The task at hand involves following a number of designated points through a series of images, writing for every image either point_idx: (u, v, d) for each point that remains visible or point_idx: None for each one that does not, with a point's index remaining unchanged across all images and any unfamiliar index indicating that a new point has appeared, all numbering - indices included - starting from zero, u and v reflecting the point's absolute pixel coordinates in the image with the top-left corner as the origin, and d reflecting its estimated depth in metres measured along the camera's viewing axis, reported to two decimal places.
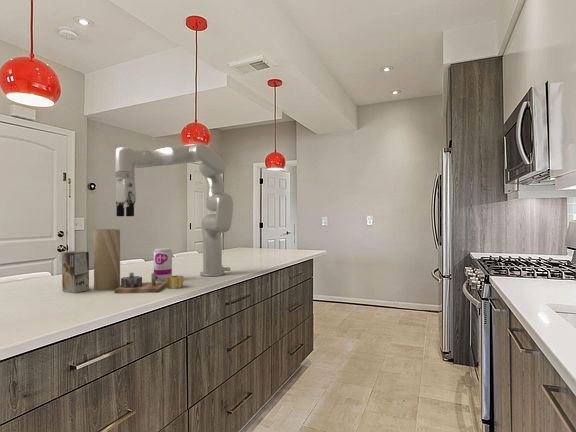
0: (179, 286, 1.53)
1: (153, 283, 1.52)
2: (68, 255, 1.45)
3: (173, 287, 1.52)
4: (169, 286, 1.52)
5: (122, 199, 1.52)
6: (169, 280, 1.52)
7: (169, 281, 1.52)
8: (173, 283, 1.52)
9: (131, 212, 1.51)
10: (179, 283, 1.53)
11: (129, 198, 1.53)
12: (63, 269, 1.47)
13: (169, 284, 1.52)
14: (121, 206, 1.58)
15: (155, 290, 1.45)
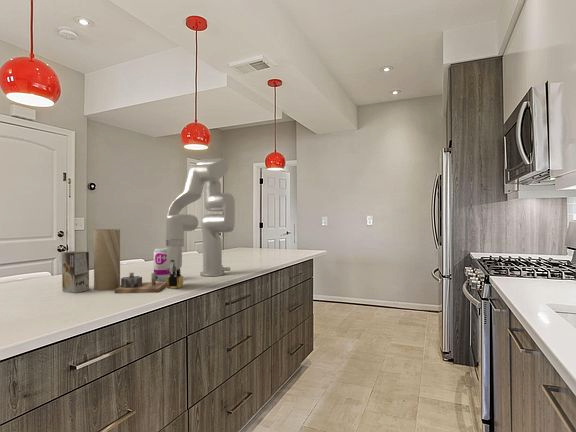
0: (179, 286, 1.53)
1: (153, 283, 1.52)
2: (68, 255, 1.45)
3: (173, 287, 1.52)
4: (169, 286, 1.52)
5: (181, 265, 1.58)
6: None
7: None
8: None
9: None
10: (179, 283, 1.53)
11: None
12: (63, 269, 1.47)
13: None
14: None
15: (155, 290, 1.45)
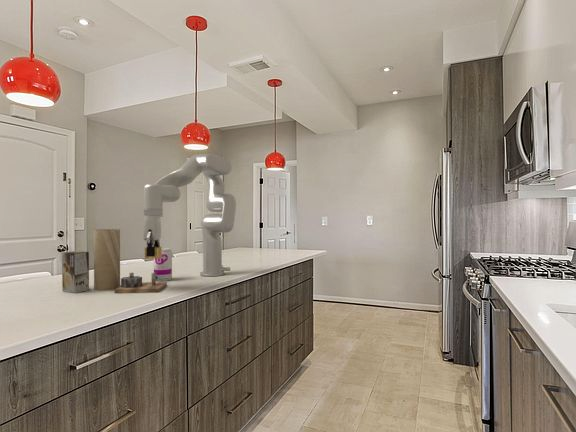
0: (157, 256, 1.50)
1: (153, 283, 1.52)
2: (68, 255, 1.45)
3: (151, 257, 1.49)
4: None
5: (159, 236, 1.55)
6: None
7: None
8: None
9: None
10: (157, 253, 1.50)
11: None
12: (63, 269, 1.47)
13: None
14: None
15: (155, 290, 1.45)
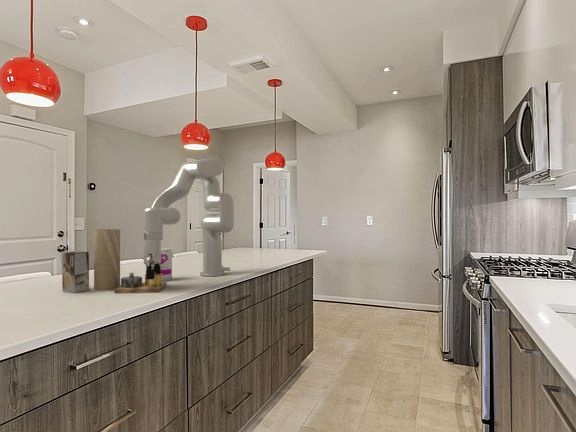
0: (157, 284, 1.50)
1: None
2: (68, 255, 1.45)
3: (151, 285, 1.49)
4: (147, 284, 1.50)
5: (160, 259, 1.55)
6: None
7: (147, 279, 1.50)
8: (151, 281, 1.49)
9: None
10: (157, 281, 1.50)
11: None
12: (63, 269, 1.47)
13: (147, 282, 1.50)
14: None
15: (155, 290, 1.45)
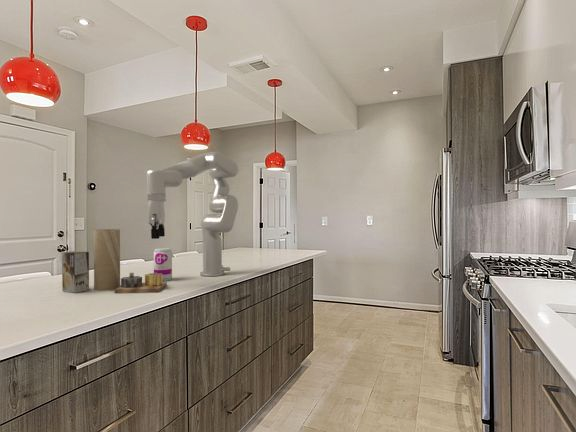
0: (157, 284, 1.50)
1: None
2: (68, 255, 1.45)
3: (151, 285, 1.49)
4: (147, 284, 1.50)
5: (163, 221, 1.59)
6: (147, 278, 1.50)
7: (147, 279, 1.50)
8: (151, 281, 1.49)
9: None
10: (157, 281, 1.50)
11: None
12: (63, 269, 1.47)
13: (147, 282, 1.50)
14: None
15: (155, 290, 1.45)
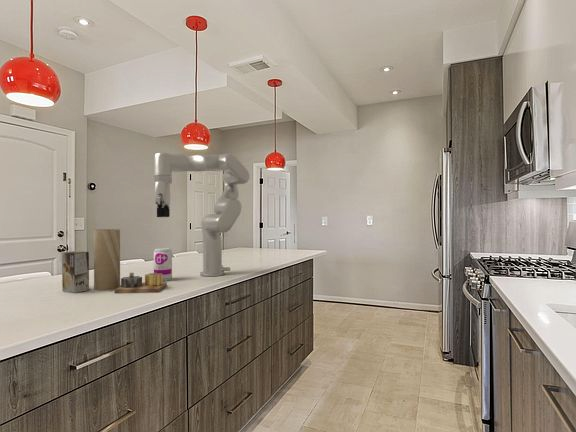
0: (157, 284, 1.50)
1: None
2: (68, 255, 1.45)
3: (151, 285, 1.49)
4: (147, 284, 1.50)
5: (169, 201, 1.68)
6: (147, 278, 1.50)
7: (147, 279, 1.50)
8: (151, 281, 1.49)
9: None
10: (157, 281, 1.50)
11: None
12: (63, 269, 1.47)
13: (147, 282, 1.50)
14: None
15: (155, 290, 1.45)
